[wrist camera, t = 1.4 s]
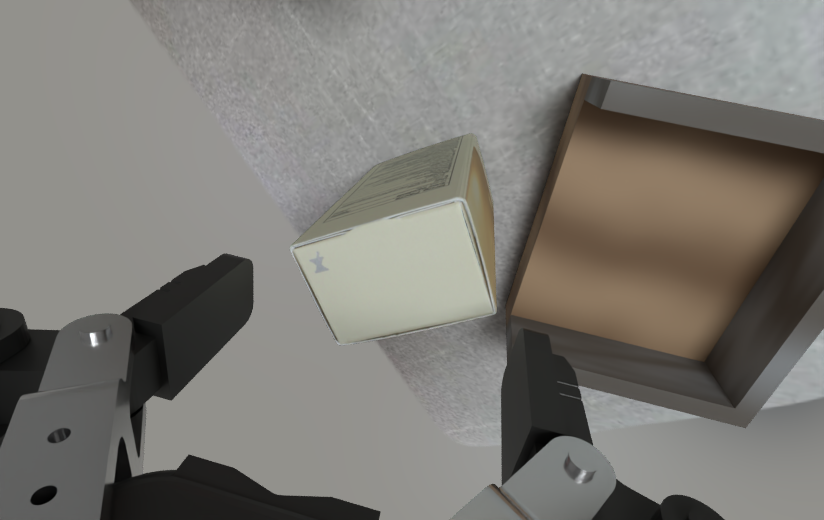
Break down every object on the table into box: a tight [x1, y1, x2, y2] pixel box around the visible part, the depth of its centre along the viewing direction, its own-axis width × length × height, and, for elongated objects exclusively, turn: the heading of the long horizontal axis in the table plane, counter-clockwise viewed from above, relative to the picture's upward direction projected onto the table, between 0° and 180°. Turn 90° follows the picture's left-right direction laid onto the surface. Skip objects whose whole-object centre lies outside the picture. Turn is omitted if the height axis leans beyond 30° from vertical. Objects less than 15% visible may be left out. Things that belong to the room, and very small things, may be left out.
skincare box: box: [290, 134, 497, 345], centre depth 19 cm, size 6×4×12 cm
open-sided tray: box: [506, 74, 824, 428], centre depth 21 cm, size 14×12×6 cm
